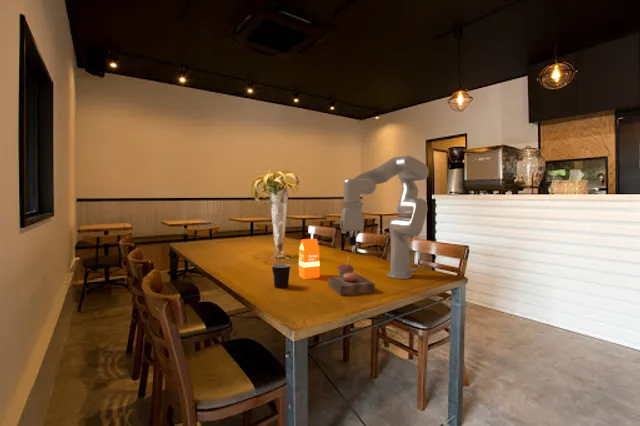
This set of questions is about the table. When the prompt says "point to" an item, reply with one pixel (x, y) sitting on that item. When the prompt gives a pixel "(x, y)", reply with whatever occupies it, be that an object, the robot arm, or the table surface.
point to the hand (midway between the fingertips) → (352, 245)
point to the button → (350, 276)
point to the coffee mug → (281, 275)
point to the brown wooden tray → (351, 286)
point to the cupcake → (345, 268)
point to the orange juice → (309, 259)
